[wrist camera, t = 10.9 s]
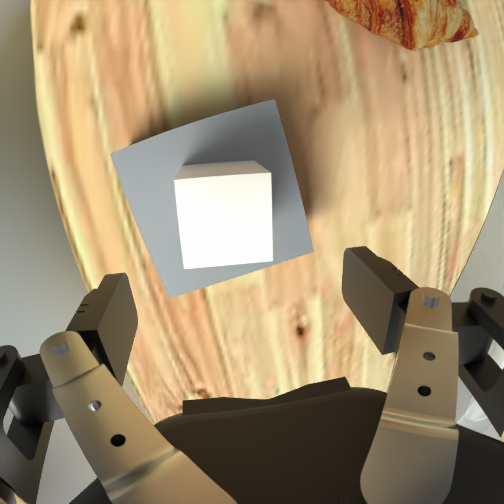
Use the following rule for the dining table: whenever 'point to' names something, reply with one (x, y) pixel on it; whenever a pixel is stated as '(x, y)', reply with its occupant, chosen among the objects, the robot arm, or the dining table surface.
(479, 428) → the soda pack
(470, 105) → the dining table surface
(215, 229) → the white block
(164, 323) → the dining table surface
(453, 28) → the croissant
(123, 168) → the grey box
